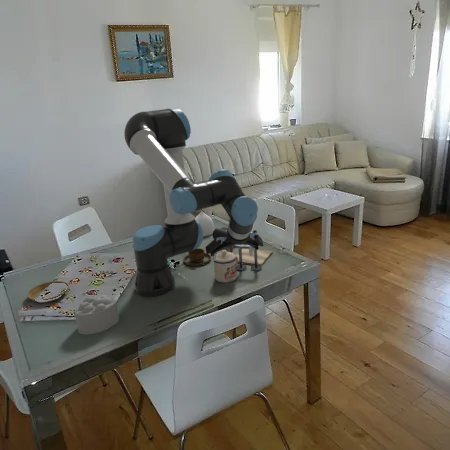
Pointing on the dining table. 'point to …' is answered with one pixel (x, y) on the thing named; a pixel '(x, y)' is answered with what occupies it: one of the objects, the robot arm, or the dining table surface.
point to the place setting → (198, 257)
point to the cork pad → (248, 259)
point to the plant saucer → (40, 288)
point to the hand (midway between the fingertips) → (232, 254)
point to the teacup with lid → (225, 266)
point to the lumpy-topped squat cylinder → (96, 314)
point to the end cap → (219, 232)
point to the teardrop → (205, 223)
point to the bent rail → (241, 267)
